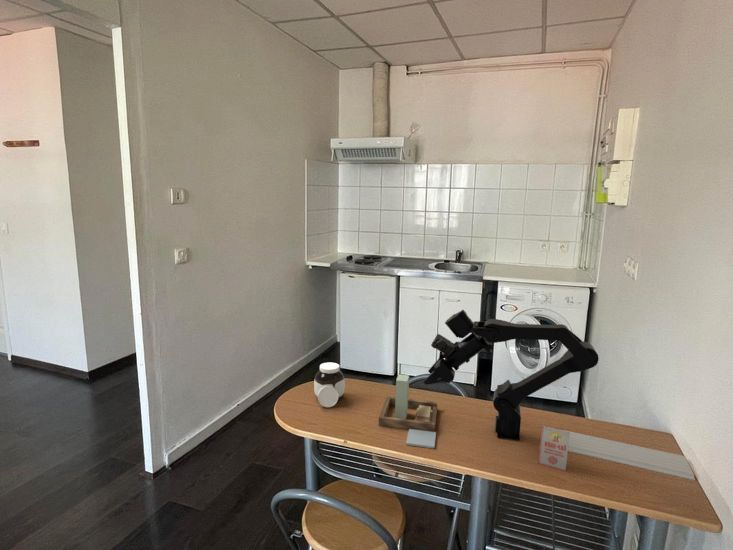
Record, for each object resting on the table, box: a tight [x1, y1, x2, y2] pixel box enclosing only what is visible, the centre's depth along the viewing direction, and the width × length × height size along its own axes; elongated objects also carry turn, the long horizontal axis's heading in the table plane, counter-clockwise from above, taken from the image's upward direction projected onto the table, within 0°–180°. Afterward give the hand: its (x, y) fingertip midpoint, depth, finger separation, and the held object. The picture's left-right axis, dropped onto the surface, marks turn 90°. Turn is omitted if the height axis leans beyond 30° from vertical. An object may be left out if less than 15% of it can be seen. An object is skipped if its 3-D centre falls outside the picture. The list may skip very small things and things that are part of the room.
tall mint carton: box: [394, 373, 410, 419], centre depth 139 cm, size 4×5×13 cm
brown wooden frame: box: [378, 396, 438, 432], centre depth 139 cm, size 17×15×2 cm
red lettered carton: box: [537, 425, 571, 472], centre depth 115 cm, size 4×7×10 cm, turn 62°
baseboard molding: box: [561, 429, 696, 482], centre depth 120 cm, size 31×3×12 cm
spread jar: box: [313, 361, 346, 408], centre depth 149 cm, size 12×11×12 cm
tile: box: [405, 429, 437, 449], centre depth 126 cm, size 8×8×1 cm
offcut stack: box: [414, 405, 433, 422], centre depth 138 cm, size 5×10×2 cm, turn 168°
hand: (426, 377), depth 135 cm, fingers open, 9 cm apart
